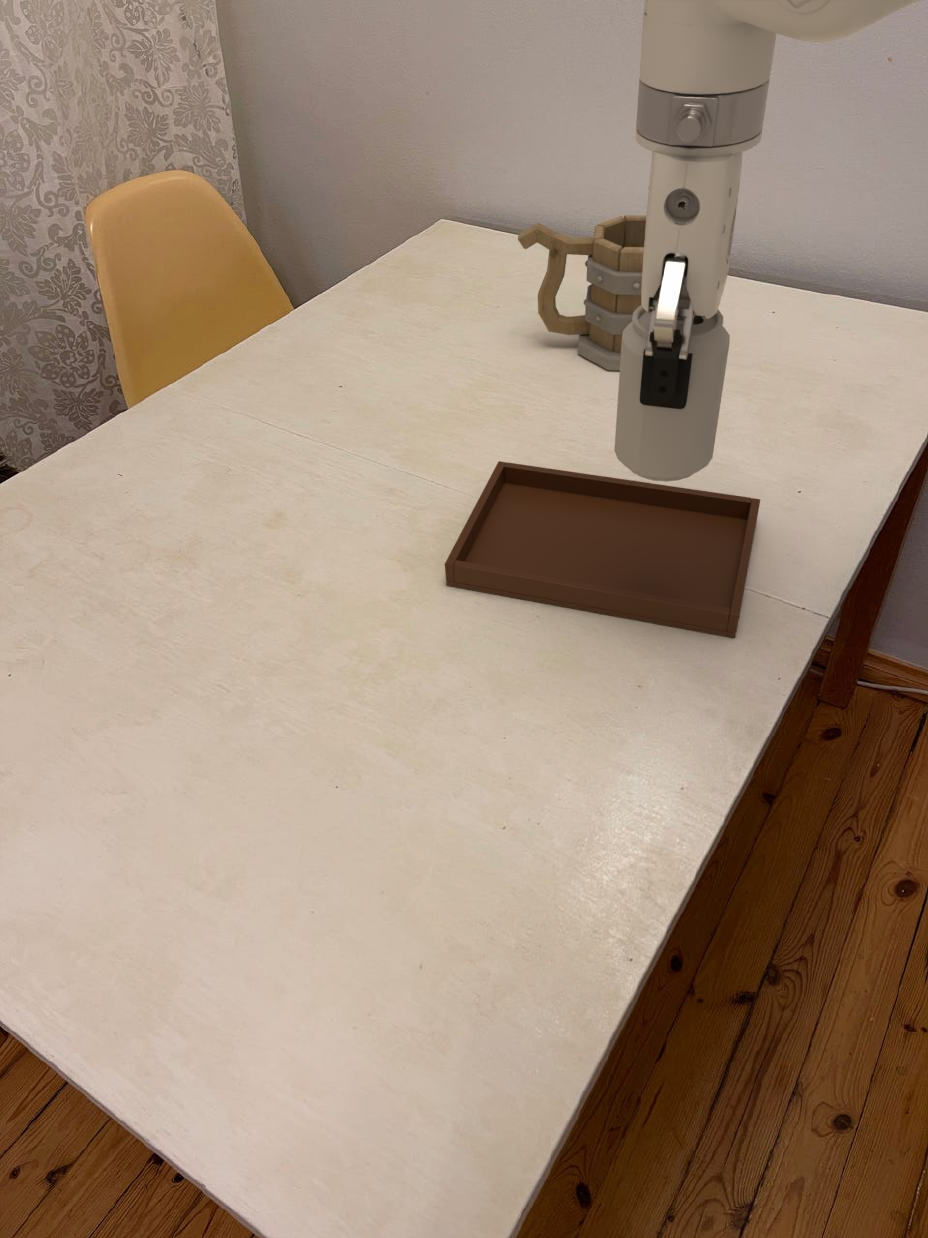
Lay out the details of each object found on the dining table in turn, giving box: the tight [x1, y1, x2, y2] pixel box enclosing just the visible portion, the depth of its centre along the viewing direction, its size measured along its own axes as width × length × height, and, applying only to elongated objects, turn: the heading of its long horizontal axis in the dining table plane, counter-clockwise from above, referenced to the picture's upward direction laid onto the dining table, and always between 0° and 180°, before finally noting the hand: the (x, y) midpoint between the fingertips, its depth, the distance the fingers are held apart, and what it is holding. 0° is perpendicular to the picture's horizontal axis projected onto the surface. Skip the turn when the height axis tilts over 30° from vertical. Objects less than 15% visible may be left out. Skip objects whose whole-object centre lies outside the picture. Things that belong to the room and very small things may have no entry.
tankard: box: [517, 214, 646, 372], centre depth 113 cm, size 20×13×15 cm, turn 82°
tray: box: [444, 460, 761, 639], centre depth 89 cm, size 26×17×3 cm, turn 72°
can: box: [614, 299, 731, 482], centre depth 71 cm, size 8×8×12 cm
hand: (672, 374), depth 70 cm, fingers closed on can, 7 cm apart
